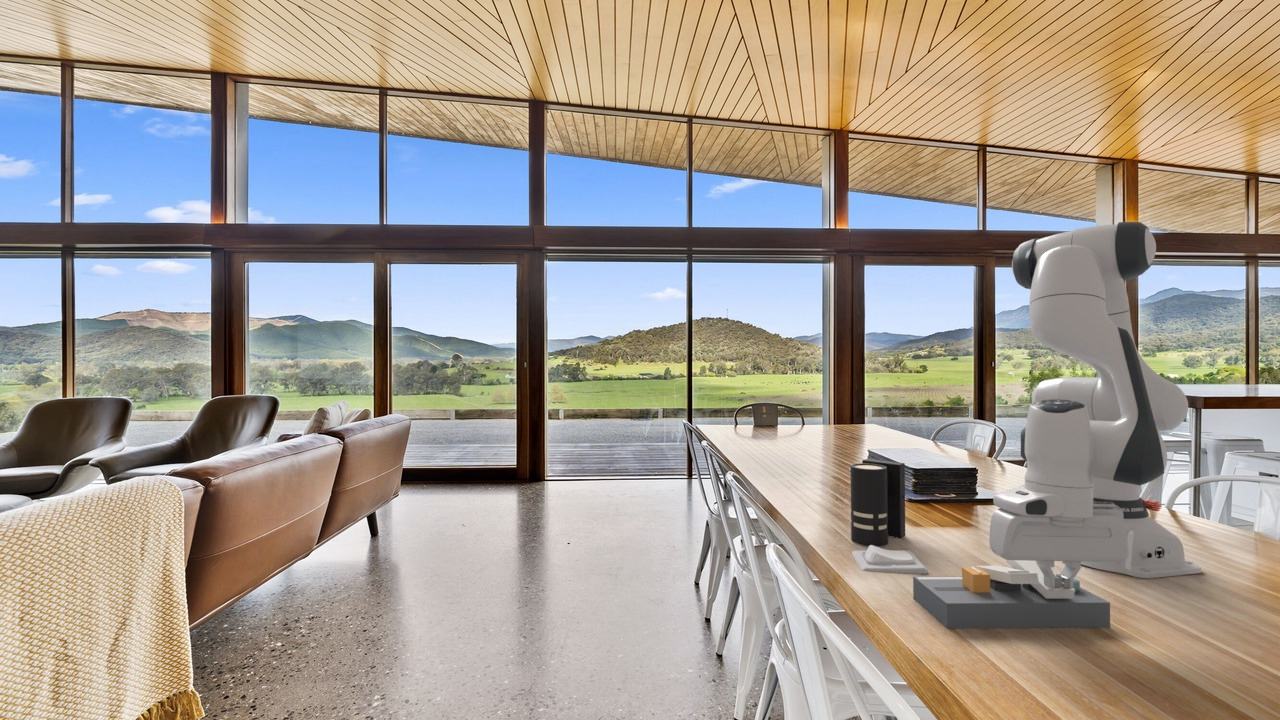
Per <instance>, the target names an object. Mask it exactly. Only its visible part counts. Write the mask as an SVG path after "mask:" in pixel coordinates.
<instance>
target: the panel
mask: <svg viewBox="0 0 1280 720" xmlns="http://www.w3.org/2000/svg"><path fill="white" fill-rule="evenodd" d="M912 584H913V585H912V586H913V587H912V589H913V592H912V593H913V594H912V595H913V600H914V601H915V602H917V604H919V605H920V606H921V607H922V608H924V610H926V611H927V612H928V613H929V614H930V615H931V616H932V617H933V618H935V619H936V620H937V621H938V622H939V623H940V624H941V625H943V626H944V628H946V629H1072V628H1073V629H1077V628H1078V629H1086V628H1089V629H1091V628H1092V629H1095V628H1096V629H1097V628H1098V629H1101V628H1103V629H1106V628H1107V629H1108V628H1110V629H1111V602H1110V601H1108V600H1106V599H1104V598H1103V597H1100V596H1098V595H1097V594H1094V593H1092V592H1091V591H1089V590H1087V589H1085V588H1082V587H1080V591H1079V592H1075V593H1074V598H1047V599H1046V598H1045V597H1044V596H1043V595H1042V594H1041V593H1039V592H1038V591H1037V590H1036V589H1035V588H1034V587H1033V586H1032V585H1031V584H1010V583H1006V582H1001V581H997V580H993V579H990V593H973V592H972V591H970V590H969V589H967V588H966V587H965V586H963V585H962V575H959V576H958V575H957V576H956V575H955V576H954V575H948V576H947V575H946V576H943V575H940V576H939V575H936V576H933V575H932V576H931V575H929V576H927V575H926V576H925V575H924V576H921V575H920V576H919V575H918V576H917V575H916V576H912Z"/></svg>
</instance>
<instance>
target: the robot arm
mask: <svg viewBox="0 0 1280 720" xmlns="http://www.w3.org/2000/svg"><path fill="white" fill-rule="evenodd" d="M1156 252H1157V243H1156V239H1155V237H1154V235H1153V233H1152V232H1151V231H1150V230H1149V227H1148V226H1147V225H1146V224H1144V223H1142V222H1141V221H1120V222H1118V223H1117V224H1116V223H1115V224H1104V225H1103V224H1101V225H1096V226H1095V225H1093V226H1087V227H1081V228H1075V229H1074V230H1069V231H1063V232H1061V233H1056V234H1053V235H1049V236H1045V237H1041V238H1038V237H1036V238H1031V239H1030V240H1027V241H1024V242H1022V243H1020V244H1019V245H1018V247H1016V248H1015V250H1014V252H1013V255H1012V261H1011V268H1012V269H1011V271H1012V274H1013V276H1014V279H1015V281H1016V284H1018V285H1020V286H1021V287H1023V288H1024V289H1026V290H1030V293H1029V308H1028V309H1029V310H1028V311H1029V312H1028V316H1029V317H1028V318H1029V326H1030V331H1031V333H1032V334H1033V336H1034V337H1035V339H1036V340H1037V341H1038V342H1039V343H1041V344H1042V345H1044V346H1046V348H1049V349H1050V350H1052V351H1054V352H1058V353H1060V354H1063V355H1067V356H1070V357H1072V358H1073V359H1075V360H1077V361H1080V362H1082V363H1085V364H1087V365H1088V366H1090V367H1091V368H1092V369H1094V370H1095V372H1097V374H1098V377H1097V376H1096V377H1095V376H1094V377H1093V376H1090V377H1089V376H1063V377H1057V378H1049V379H1045V380H1042V381H1041V382H1040V383H1038V384H1037V386H1035V388H1034V390H1033V392H1032V395H1031V404H1030V405H1029V407H1028V412H1027V418H1026V425H1025V427H1024V428H1022V430H1021V431H1020V457H1021V458H1022V459H1023V460H1024V461H1025V462H1026V464H1027V468H1026V471H1025V475H1024V484H1021V485H1019V486H1017V487H1014V488H1011V489H1007V490H1004V491H1001V492H998V493H995V494H994V495H993V500H992V501H993V505H994V506H995V507H997V508H998V509H996V510H994V511H993V512H992V515H991V519H990V524H989V539H988V541H989V548H990V550H991V551H992V552H993V553H994V555H995V556H997V557H999V558H1001V559H1004V560H1027V561H1036V563H1037V565H1038V567H1039V568H1040V570H1041V572H1042V573H1043V574H1044V585H1045V586H1047V587H1048V588H1052V589H1053V588H1063V589H1073V578H1074V579H1076V578H1075V577H1076V576H1077V575H1078V574H1079V572H1080V570H1081V568H1082V565H1083V566H1087V567H1090V568H1093V569H1098V570H1102V571H1107V572H1114V573H1118V574H1124V575H1128V576H1131V577H1134V578H1135V577H1136V578H1140V579H1153V578H1162V577H1163V578H1164V577H1173V576H1184V575H1193V574H1201V573H1202V571H1203V570H1202V567H1200V566H1199V565H1198V564H1196V563H1195V562H1193V561H1191V560H1189V559H1186V558H1185V551H1184V550H1185V549H1184V546H1183V543H1182V541H1181V539H1180V538H1179V537H1178V536H1177V535H1176V534H1174V533H1173V532H1171V531H1170V530H1168V529H1167V528H1166V527H1164V526H1163V525H1162V524H1160V523H1158V521H1156V520H1155V519H1153V518H1152V517H1151V516H1150V514H1149V511H1148V510H1150V511H1153V512H1156V513H1157V512H1160V510H1161V509H1162V504H1160V502H1159V501H1156V500H1152V499H1147V500H1144V499H1143V498H1141V496H1140V495H1141V494H1140V486H1143V485H1147V484H1149V483H1150V482H1152V481H1154V480H1157V478H1160V477H1161V476H1162V475H1163V474H1165V470H1166V468H1167V465H1168V452H1167V451H1168V450H1167V447H1166V444H1165V441H1164V439H1163V437H1162V435H1161V433H1160V432H1166V431H1168V432H1169V431H1173V430H1174V429H1176V428H1178V427H1179V426H1180V425H1182V423H1183V422H1184V421H1185V419H1186V417H1187V415H1188V412H1189V401H1188V398H1187V396H1186V395H1185V392H1184V391H1183V390H1182V389H1181V388H1180V387H1179V386H1178V385H1177V384H1175V383H1174V382H1172V381H1169V380H1168V379H1166V378H1164V377H1163V376H1161V375H1159V374H1158V373H1157V372H1156V371H1155V370H1154V369H1152V368H1151V367H1150V366H1149V364H1148V363H1146V361H1145V360H1144V359H1143V357H1142V356H1141V354H1140V352H1139V351H1138V348H1137V346H1136V343H1135V338H1134V333H1133V329H1132V320H1131V312H1130V302H1129V297H1128V292H1127V288H1126V287H1127V286H1126V284H1125V282H1126V283H1127V284H1129V283H1132V282H1133V279H1134V278H1136V277H1139V276H1141V275H1143V274H1144V273H1146V271H1148V270H1149V269H1150V268H1151V267H1152V263H1153V261H1154V258H1155V257H1156ZM1055 562H1062V564H1064V567H1063V569H1062V570H1061V572H1060V574H1059V573H1056V576H1055V575H1054V573H1053V572H1054V571H1053V568H1055Z"/></svg>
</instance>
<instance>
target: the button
mask: <svg viewBox="0 0 1280 720" xmlns="http://www.w3.org/2000/svg"><path fill="white" fill-rule="evenodd" d="M1080 586H1081V584H1080V581H1079V580H1078V579H1077V578H1073V588H1074V589H1075V592H1079V591H1080Z"/></svg>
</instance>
